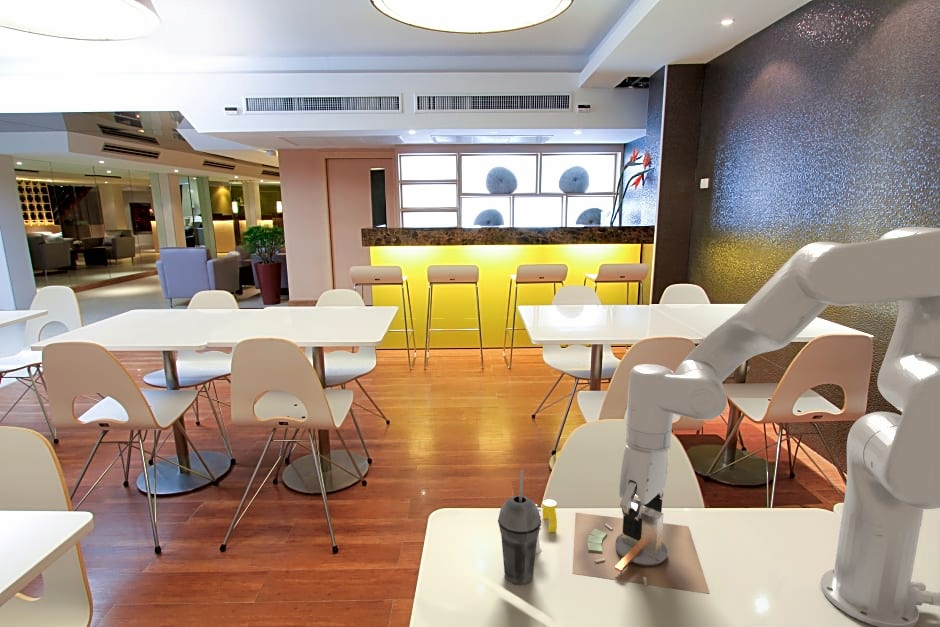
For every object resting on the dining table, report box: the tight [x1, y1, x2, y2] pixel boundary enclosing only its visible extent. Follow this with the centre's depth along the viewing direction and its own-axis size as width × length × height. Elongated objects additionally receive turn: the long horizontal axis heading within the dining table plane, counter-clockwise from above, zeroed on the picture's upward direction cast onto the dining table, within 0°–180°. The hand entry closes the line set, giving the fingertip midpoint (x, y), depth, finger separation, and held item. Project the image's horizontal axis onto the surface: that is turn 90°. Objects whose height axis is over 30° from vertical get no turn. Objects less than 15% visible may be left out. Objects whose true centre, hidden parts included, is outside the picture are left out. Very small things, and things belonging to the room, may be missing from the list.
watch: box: [542, 498, 558, 533], centre depth 102 cm, size 6×3×6 cm, turn 6°
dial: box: [615, 502, 667, 572], centre depth 91 cm, size 14×9×8 cm, turn 137°
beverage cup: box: [497, 470, 542, 586], centre depth 86 cm, size 7×7×20 cm
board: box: [572, 512, 711, 595], centre depth 95 cm, size 22×19×2 cm
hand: (642, 525), depth 93 cm, fingers open, 7 cm apart
